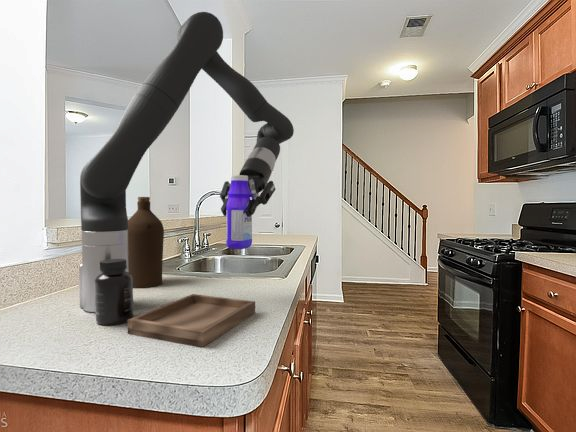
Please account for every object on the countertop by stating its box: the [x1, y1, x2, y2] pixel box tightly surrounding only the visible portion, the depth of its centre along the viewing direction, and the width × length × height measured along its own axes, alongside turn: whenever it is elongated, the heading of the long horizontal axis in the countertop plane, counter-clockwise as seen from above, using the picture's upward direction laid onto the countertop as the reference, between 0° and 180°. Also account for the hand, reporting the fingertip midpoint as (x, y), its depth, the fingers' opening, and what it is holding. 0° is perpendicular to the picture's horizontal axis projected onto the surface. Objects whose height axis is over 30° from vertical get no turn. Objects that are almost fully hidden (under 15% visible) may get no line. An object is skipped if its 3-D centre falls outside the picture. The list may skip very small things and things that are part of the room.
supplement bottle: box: [94, 259, 135, 326], centre depth 69 cm, size 7×7×12 cm
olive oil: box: [128, 196, 165, 289], centre depth 99 cm, size 11×11×25 cm
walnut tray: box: [127, 293, 256, 348], centre depth 69 cm, size 16×19×2 cm
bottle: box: [225, 174, 253, 250], centre depth 84 cm, size 7×6×17 cm
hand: (235, 213), depth 82 cm, fingers closed on bottle, 5 cm apart
